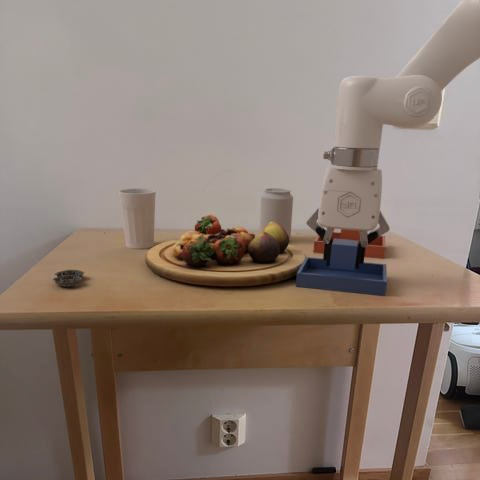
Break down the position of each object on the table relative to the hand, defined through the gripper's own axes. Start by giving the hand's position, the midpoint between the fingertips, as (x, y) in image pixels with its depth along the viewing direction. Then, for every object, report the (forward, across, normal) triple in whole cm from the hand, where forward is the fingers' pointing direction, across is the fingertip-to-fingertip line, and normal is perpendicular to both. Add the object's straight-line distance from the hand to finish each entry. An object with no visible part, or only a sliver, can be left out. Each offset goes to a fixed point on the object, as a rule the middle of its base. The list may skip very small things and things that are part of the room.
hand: (343, 264), depth 88 cm
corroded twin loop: (+4, -46, -16) cm, 49 cm away
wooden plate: (+3, -23, +4) cm, 24 cm away
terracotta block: (+3, 0, +25) cm, 25 cm away
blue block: (0, 0, 0) cm, 0 cm away
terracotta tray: (+3, 0, +25) cm, 25 cm away
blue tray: (+3, 0, 0) cm, 3 cm away
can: (+3, -18, +28) cm, 33 cm away
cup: (+4, -46, +12) cm, 48 cm away
